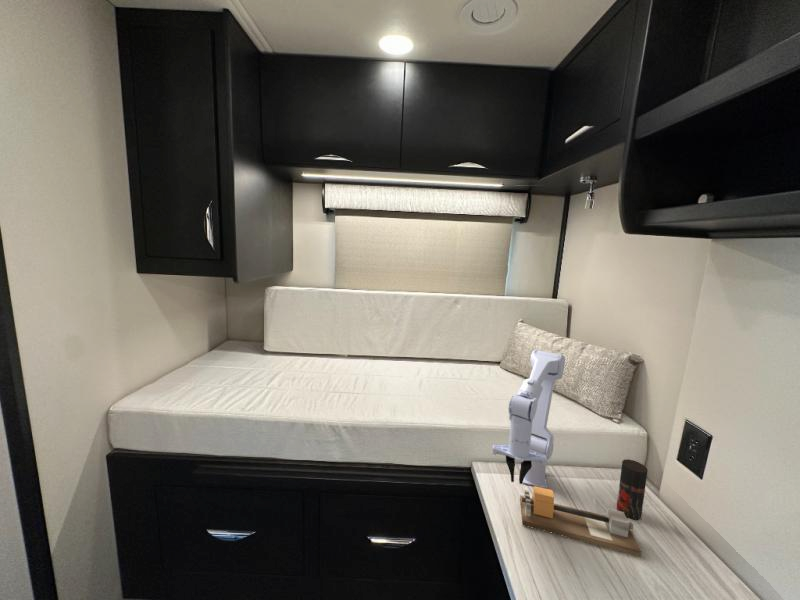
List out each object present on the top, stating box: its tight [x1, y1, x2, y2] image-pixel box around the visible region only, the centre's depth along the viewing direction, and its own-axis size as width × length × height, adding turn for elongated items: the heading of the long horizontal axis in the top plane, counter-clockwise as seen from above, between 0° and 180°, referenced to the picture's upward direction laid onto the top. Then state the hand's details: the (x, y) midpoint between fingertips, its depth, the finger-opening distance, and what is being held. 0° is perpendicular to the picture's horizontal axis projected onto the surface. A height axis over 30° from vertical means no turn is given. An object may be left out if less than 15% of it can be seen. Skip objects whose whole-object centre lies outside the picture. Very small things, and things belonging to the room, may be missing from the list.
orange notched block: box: [531, 486, 555, 518], centre depth 88 cm, size 4×5×6 cm
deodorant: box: [616, 458, 649, 521], centre depth 91 cm, size 6×6×15 cm
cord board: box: [519, 490, 642, 557], centre depth 86 cm, size 10×28×6 cm, turn 72°
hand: (516, 480), depth 90 cm, fingers closed
